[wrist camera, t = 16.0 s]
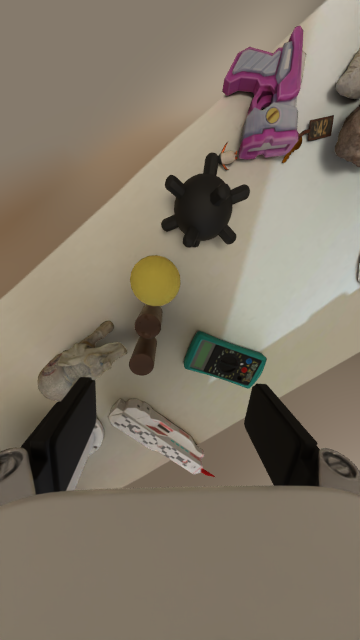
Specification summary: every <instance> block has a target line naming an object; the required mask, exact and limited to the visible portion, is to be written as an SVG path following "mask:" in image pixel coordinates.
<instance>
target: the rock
mask: <svg viewBox="0 0 360 640" xmlns="http://www.w3.org/2000/svg"><path fill="white" fill-rule="evenodd" d="M335 153H336V155H337V156H338V157H340V158H343V159H345V160H346V161H350V162H352V163H353V164H355V165H356V166H357V167H360V105H359V106H358V107H357V108H356V109H355V110H354V111H353V112H352V113H351V114H350V115H349V116H348V117H347V118H346V120H345V121H344V124H343V126H342V129H341V131H340V132H339V135H338V142H337V143H336V145H335Z"/></svg>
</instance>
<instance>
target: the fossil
mask: <svg viewBox="0 0 360 640" xmlns="http://www.w3.org/2000/svg"><path fill="white" fill-rule="evenodd" d="M336 90H337V92H339V94H340V95H341V96H346V97H348V98H351V99H358V98H360V49H359V51H358V52H357V53H356V55H355V57H354V59H353V60H352V61H351V63H350V65H349V66H348V70H347V71H346V72H345V73H344V74H343V75H342V76H341V77H340V79H339V80H338V81H337V85H336Z"/></svg>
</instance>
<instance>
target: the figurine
mask: <svg viewBox="0 0 360 640" xmlns="http://www.w3.org/2000/svg"><path fill="white" fill-rule="evenodd" d="M113 328H114V325H113V323H112V322H110V321H106V322H104V323H102V324H101V325H100V327H99V328H97V329H96V330H95V331H94V333H92V334H91V335H89V336H88V337H87V338H85V339H83V340H82V341H81V342H79V343H75V344H74V346H73V347H72V348H70V349H69V350H65V351H63V353H61V354H59V355H57V356H56V357H55V358H53V359H52V360H51V361H50V362H49V363H48V364H47V365H46V366H45V367H44V368H43V370H42V371H41V372H40V374H39V376H38V389H39V391H40V392H41V393H42V394H43V395H44V396H45V397H46V398H48V399H51V400H54V401H55V400H56V401H62V399H63V398H64V397H65V396H66V394H67V393H68V392H69V390H70V389H71V388H72V387H73V385H74V384H75V383H76V381H77V380H78V379H79V378H80V377H91V378H92V380H96V379H97V378H98V377H99V376H100V375H102V373H103V372H105V370H109V369H110V368H111V365H112V363H113V362H114V361H115V360H117V359H118V358H120V357H121V356H123V355H125V354H127V350H126V348H125V347H124V346H123V345H122V344H121V343H120V342H114V343H108V344H106V345H103V346H102V347H98V348H95V344H96V342H98V341H99V340H101V339H103V338H104V337H106V335H107V334H108V333H110V332H111V331H112V330H113Z"/></svg>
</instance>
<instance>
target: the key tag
mask: <svg viewBox="0 0 360 640" xmlns="http://www.w3.org/2000/svg"><path fill="white" fill-rule="evenodd" d="M333 118H334V115H332V116H328V117H323V118H319V119H315V120H310V124H309V129H308V130H304V131H303V132H301V133H300V134H298V142H297V143H296V144H295V145H294V147H293V148H292V149H291V151H290V152H289V153H287V154H286V156H285V157H284V159H283V160H282V163H285V162H286V161H287V159H288V158H289V155H291V152H294V150H297V149H299V148H300V146H301V144H302V136H303V135H304V134H307V133H309V134H308V141H311V140H316V139H320V138H324V137H328V136H331V132H332V125H333Z"/></svg>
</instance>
